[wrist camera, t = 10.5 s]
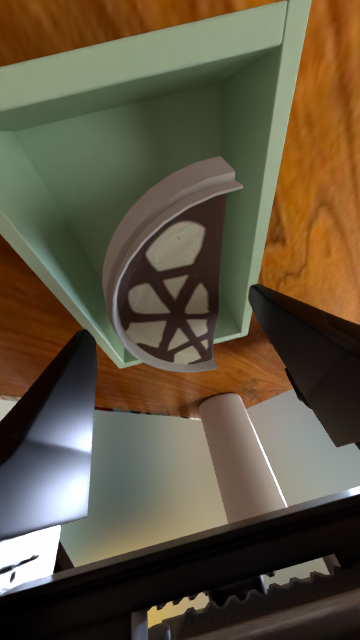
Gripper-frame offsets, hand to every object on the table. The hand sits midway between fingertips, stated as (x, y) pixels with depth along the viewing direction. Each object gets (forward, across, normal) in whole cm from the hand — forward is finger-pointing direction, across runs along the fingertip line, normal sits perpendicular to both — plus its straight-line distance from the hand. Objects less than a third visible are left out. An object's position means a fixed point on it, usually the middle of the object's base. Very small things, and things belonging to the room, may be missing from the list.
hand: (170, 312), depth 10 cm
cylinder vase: (+10, -6, +49) cm, 50 cm away
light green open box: (+10, 0, 0) cm, 10 cm away
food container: (+9, 0, 0) cm, 9 cm away
